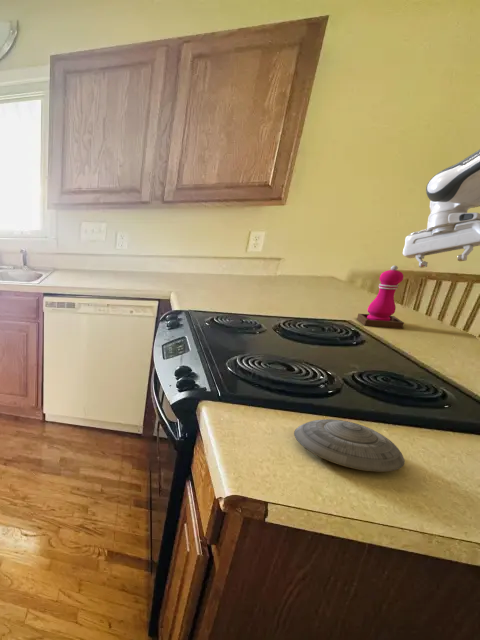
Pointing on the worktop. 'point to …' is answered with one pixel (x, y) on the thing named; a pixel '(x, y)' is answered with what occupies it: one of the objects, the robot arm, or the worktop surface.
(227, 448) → the worktop surface
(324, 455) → the flying saucer
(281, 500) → the worktop surface
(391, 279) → the pepper mill
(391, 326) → the tray
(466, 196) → the robot arm
